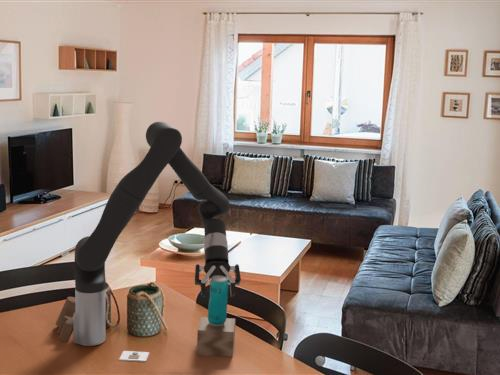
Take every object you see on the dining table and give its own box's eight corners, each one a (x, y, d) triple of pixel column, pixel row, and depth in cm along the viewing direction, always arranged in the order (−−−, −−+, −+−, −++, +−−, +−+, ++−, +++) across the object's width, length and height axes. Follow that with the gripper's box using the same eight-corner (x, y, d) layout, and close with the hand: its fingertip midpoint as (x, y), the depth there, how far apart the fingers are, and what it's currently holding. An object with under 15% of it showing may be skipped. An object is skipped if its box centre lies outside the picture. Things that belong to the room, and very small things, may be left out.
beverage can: (210, 319, 211) (213, 274, 208) (228, 321, 210) (231, 276, 207) (205, 325, 206) (207, 279, 203) (222, 328, 204) (225, 282, 201)
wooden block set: (70, 349, 209) (82, 322, 207) (44, 338, 209) (56, 310, 206) (85, 325, 227) (97, 299, 225) (62, 314, 226) (73, 289, 224)
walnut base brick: (196, 354, 204) (197, 330, 202) (200, 340, 215) (201, 316, 213) (232, 356, 204) (233, 332, 202) (234, 342, 214) (235, 318, 213)
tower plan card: (119, 360, 198) (119, 359, 198) (123, 351, 204) (123, 350, 204) (145, 361, 198) (145, 360, 198) (149, 353, 204) (149, 351, 203)
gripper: (194, 244, 209) (196, 291, 200) (239, 244, 212) (242, 290, 203) (193, 255, 216) (194, 301, 207) (236, 255, 218) (239, 301, 209)
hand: (218, 296), depth 205 cm, fingers open, 8 cm apart
